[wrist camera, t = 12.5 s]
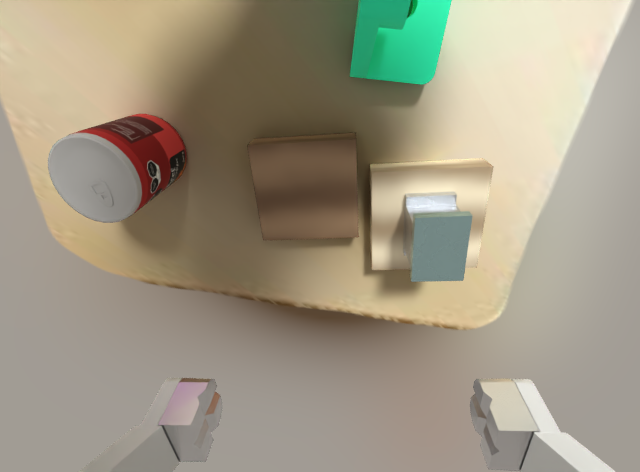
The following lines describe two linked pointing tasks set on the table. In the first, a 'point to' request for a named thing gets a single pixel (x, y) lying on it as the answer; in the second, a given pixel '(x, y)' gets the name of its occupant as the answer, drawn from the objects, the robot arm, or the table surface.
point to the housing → (435, 236)
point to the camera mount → (398, 39)
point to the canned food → (116, 166)
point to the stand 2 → (423, 177)
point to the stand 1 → (306, 186)
